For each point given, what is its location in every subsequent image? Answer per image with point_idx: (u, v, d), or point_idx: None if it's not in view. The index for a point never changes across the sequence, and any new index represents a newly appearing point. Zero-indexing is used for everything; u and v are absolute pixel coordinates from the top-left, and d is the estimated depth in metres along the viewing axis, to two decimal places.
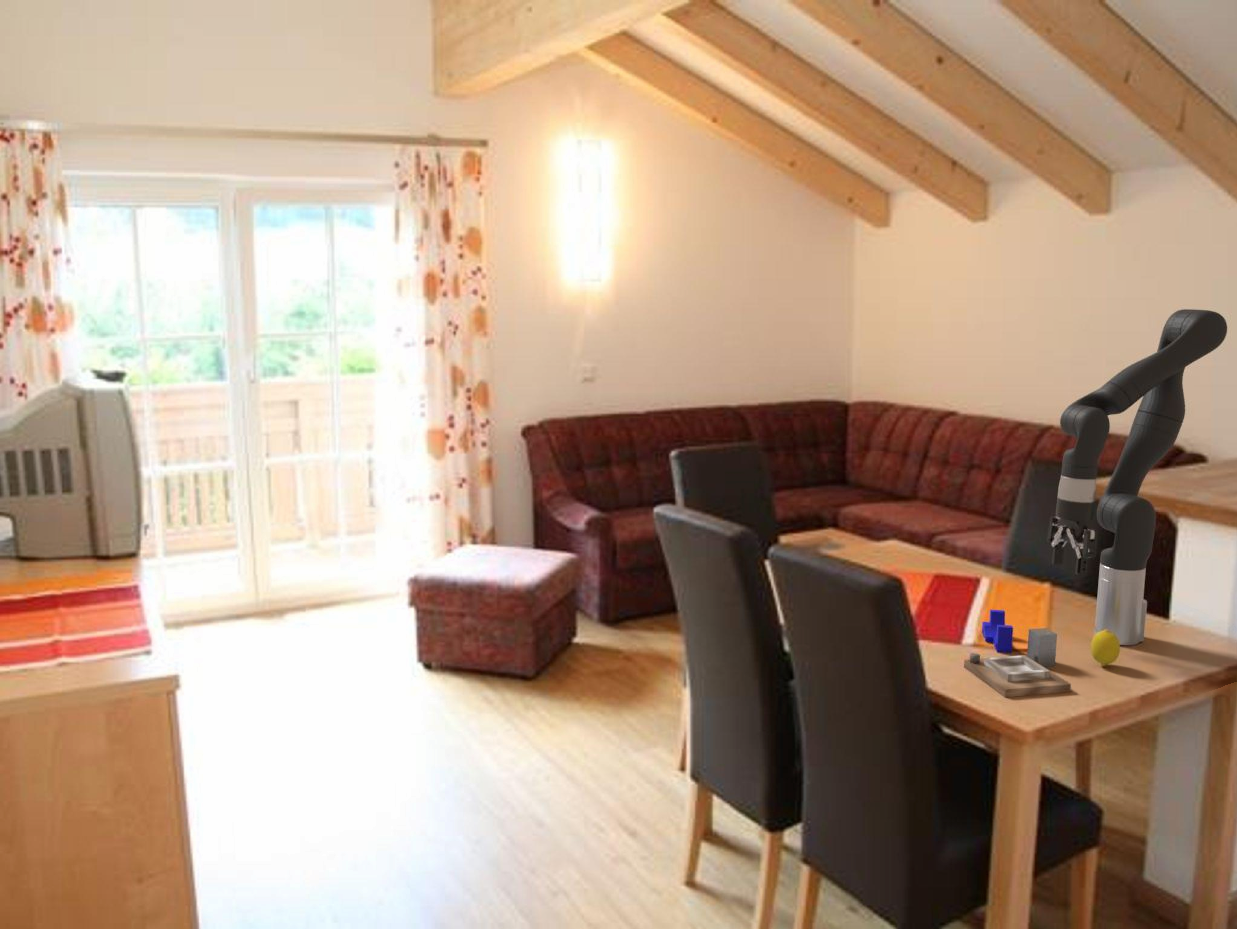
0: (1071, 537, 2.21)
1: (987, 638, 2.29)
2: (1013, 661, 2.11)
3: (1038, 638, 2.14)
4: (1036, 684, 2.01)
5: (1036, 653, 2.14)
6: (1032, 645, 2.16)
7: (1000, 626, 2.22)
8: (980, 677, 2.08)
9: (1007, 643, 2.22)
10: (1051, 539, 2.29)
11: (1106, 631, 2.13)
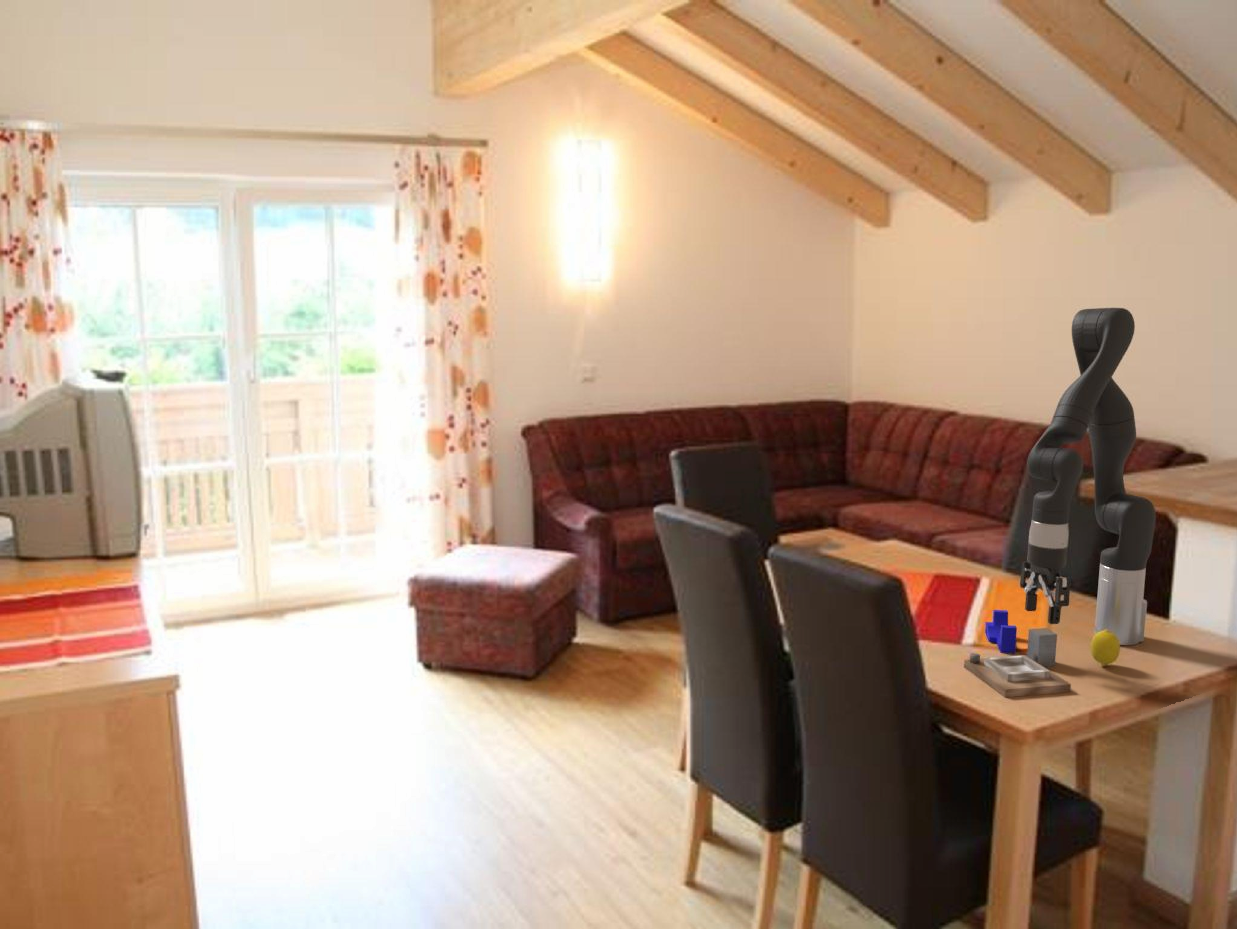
0: (1043, 584, 2.11)
1: (990, 638, 2.29)
2: (1013, 661, 2.11)
3: (1038, 638, 2.14)
4: (1036, 684, 2.01)
5: (1036, 653, 2.14)
6: (1032, 645, 2.16)
7: (1004, 626, 2.22)
8: (980, 677, 2.08)
9: (1011, 643, 2.22)
10: (1024, 585, 2.20)
11: (1106, 631, 2.13)
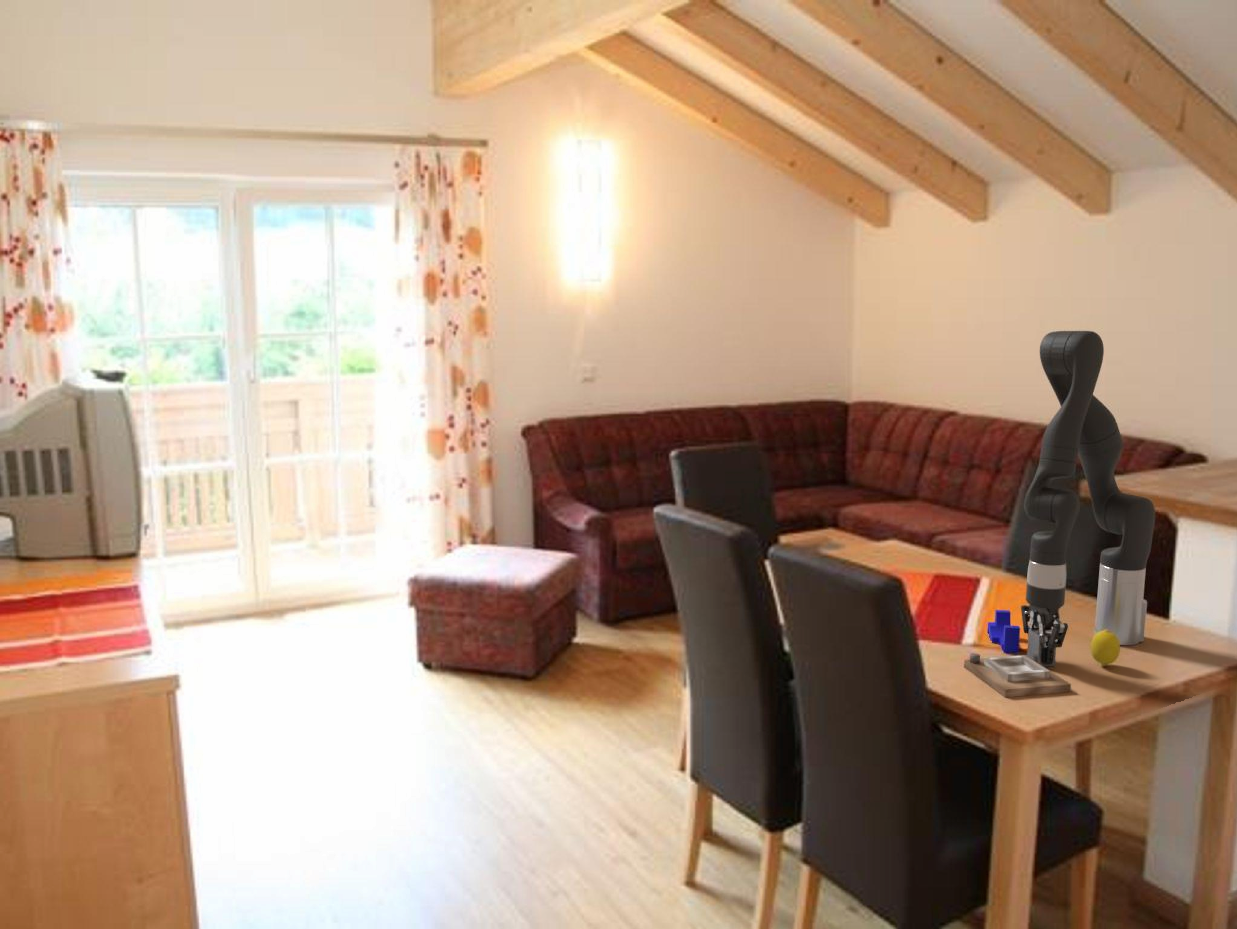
0: (1040, 625, 2.13)
1: (993, 638, 2.28)
2: (1013, 661, 2.11)
3: (1038, 638, 2.14)
4: (1036, 684, 2.01)
5: (1036, 653, 2.14)
6: (1032, 645, 2.16)
7: (1007, 627, 2.22)
8: (980, 677, 2.08)
9: (1014, 643, 2.22)
10: (1027, 629, 2.19)
11: (1106, 631, 2.13)
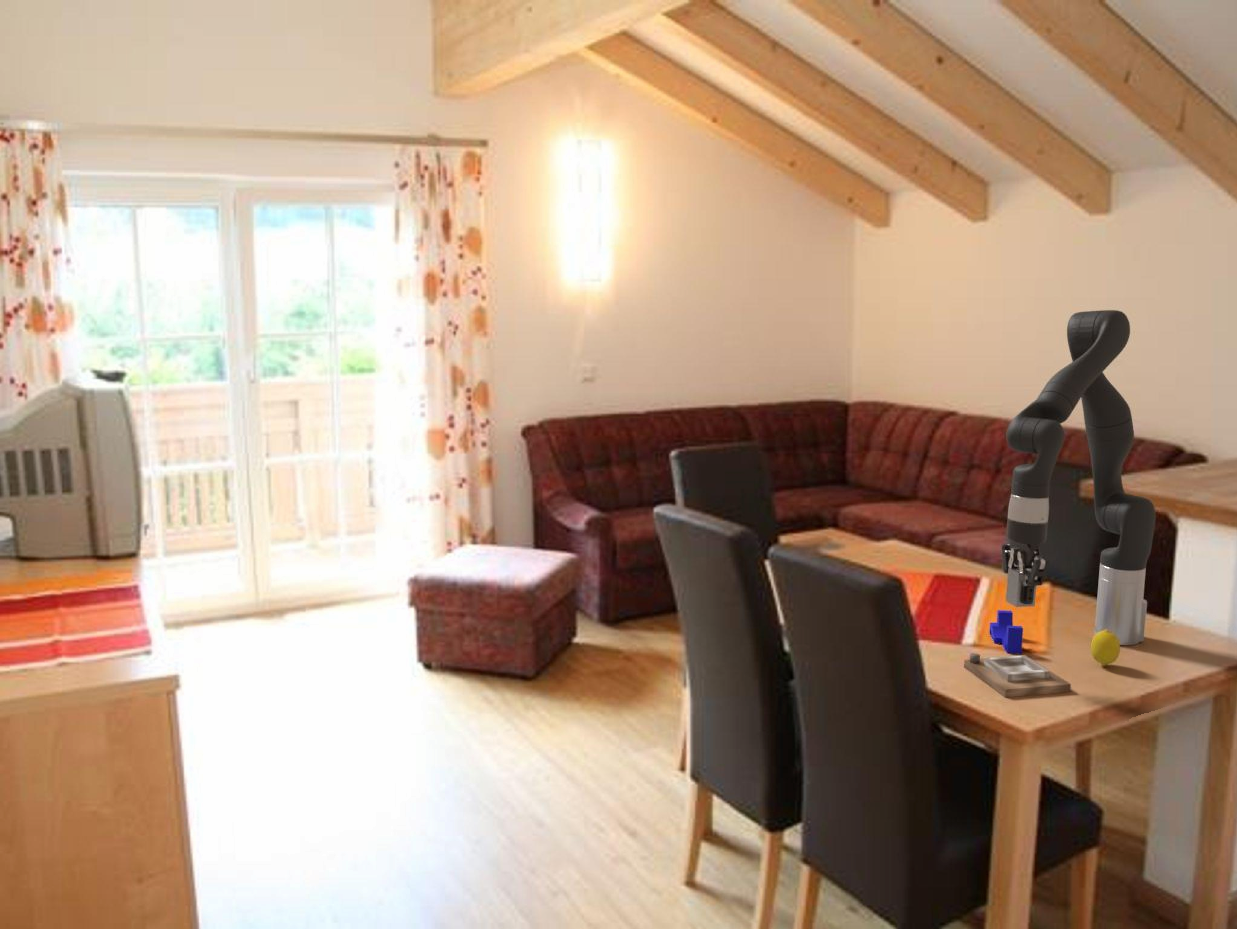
0: (1020, 562, 2.03)
1: (996, 639, 2.28)
2: (1013, 661, 2.11)
3: (1017, 576, 2.04)
4: (1036, 684, 2.01)
5: (1015, 592, 2.05)
6: (1011, 584, 2.06)
7: (1010, 627, 2.22)
8: (980, 677, 2.08)
9: (1017, 644, 2.22)
10: (1007, 569, 2.10)
11: (1106, 631, 2.13)
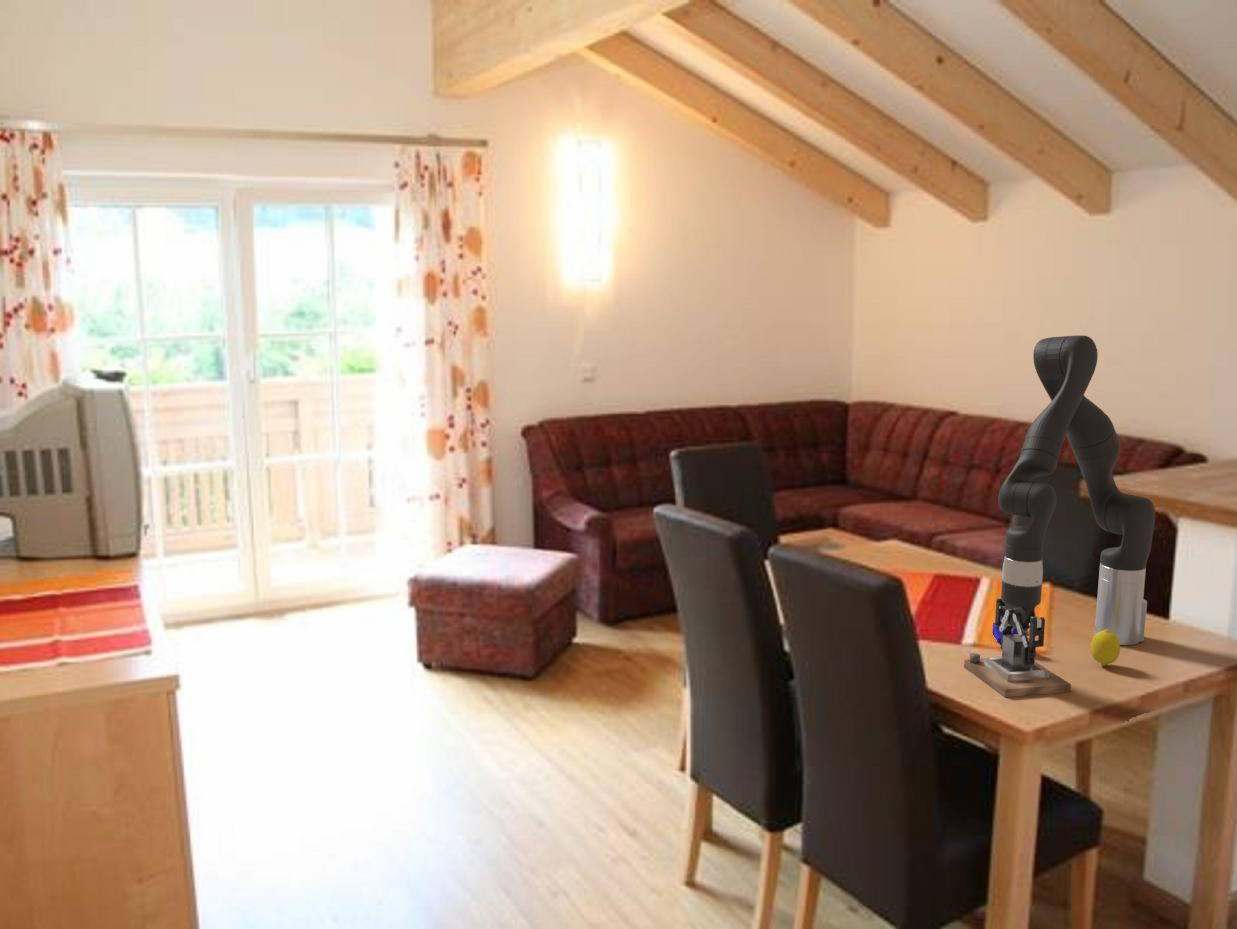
0: (1017, 623, 2.03)
1: (999, 639, 2.28)
2: None
3: (1013, 644, 2.05)
4: (1036, 684, 2.01)
5: (1011, 660, 2.06)
6: (1006, 652, 2.07)
7: None
8: (980, 677, 2.08)
9: None
10: (999, 623, 2.12)
11: (1106, 631, 2.13)
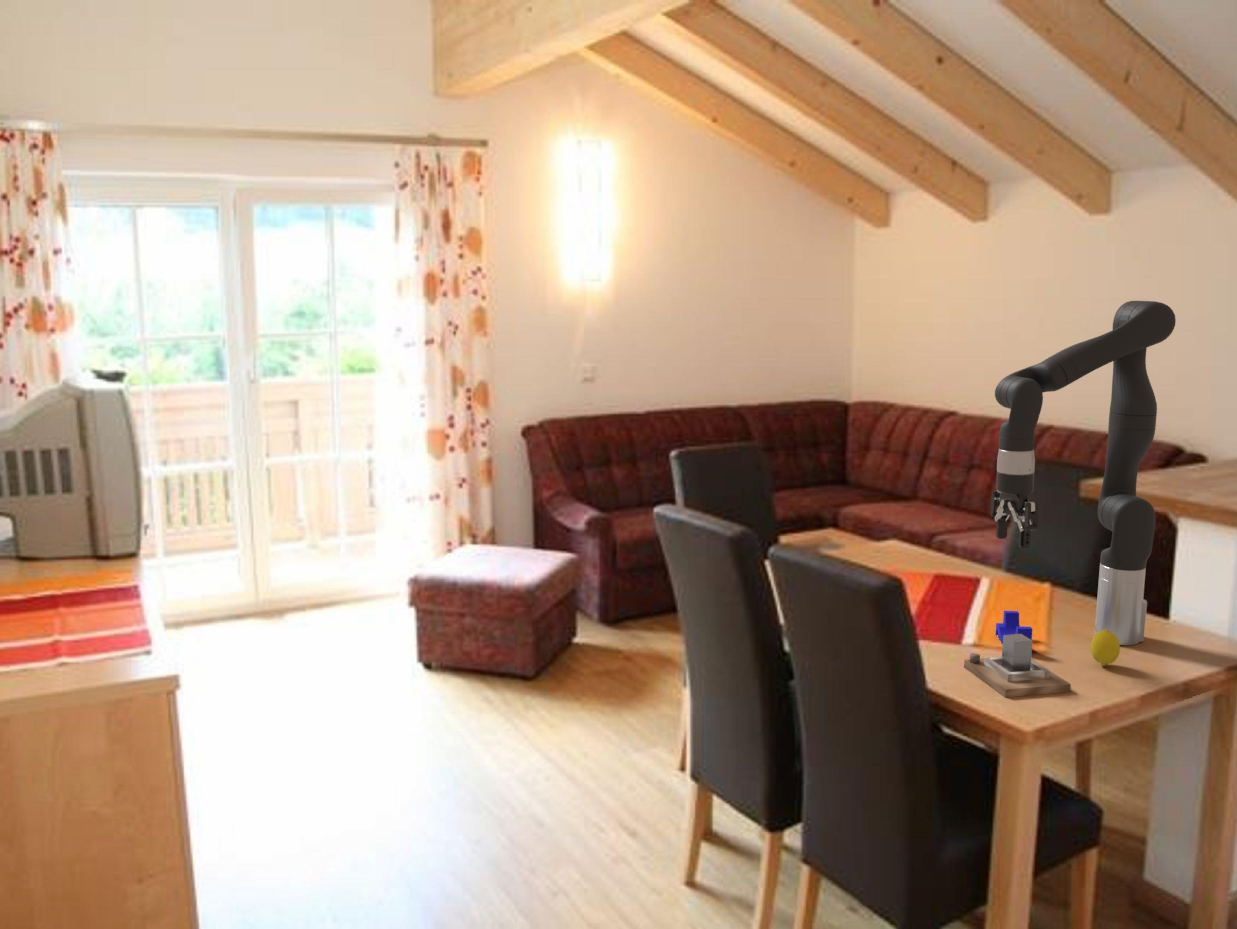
0: (1012, 510, 2.18)
1: None
2: None
3: (1013, 644, 2.05)
4: (1036, 684, 2.01)
5: (1011, 660, 2.06)
6: (1006, 652, 2.07)
7: (1019, 628, 2.21)
8: (980, 677, 2.08)
9: None
10: (994, 513, 2.27)
11: (1106, 631, 2.13)
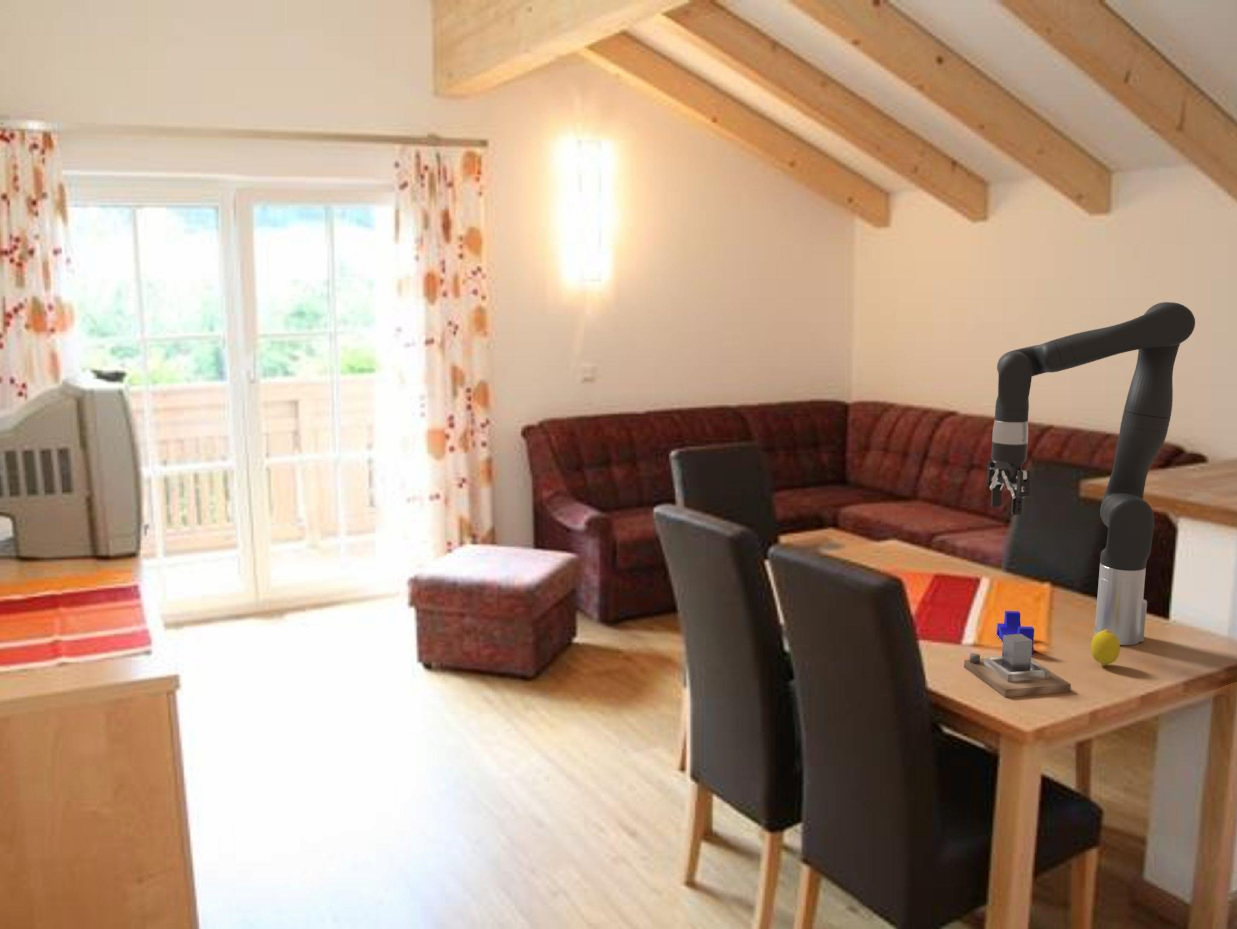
0: (1006, 479, 2.29)
1: None
2: None
3: (1013, 644, 2.05)
4: (1036, 684, 2.01)
5: (1011, 660, 2.06)
6: (1006, 652, 2.07)
7: (1021, 628, 2.21)
8: (980, 677, 2.08)
9: None
10: (989, 483, 2.38)
11: (1106, 631, 2.13)
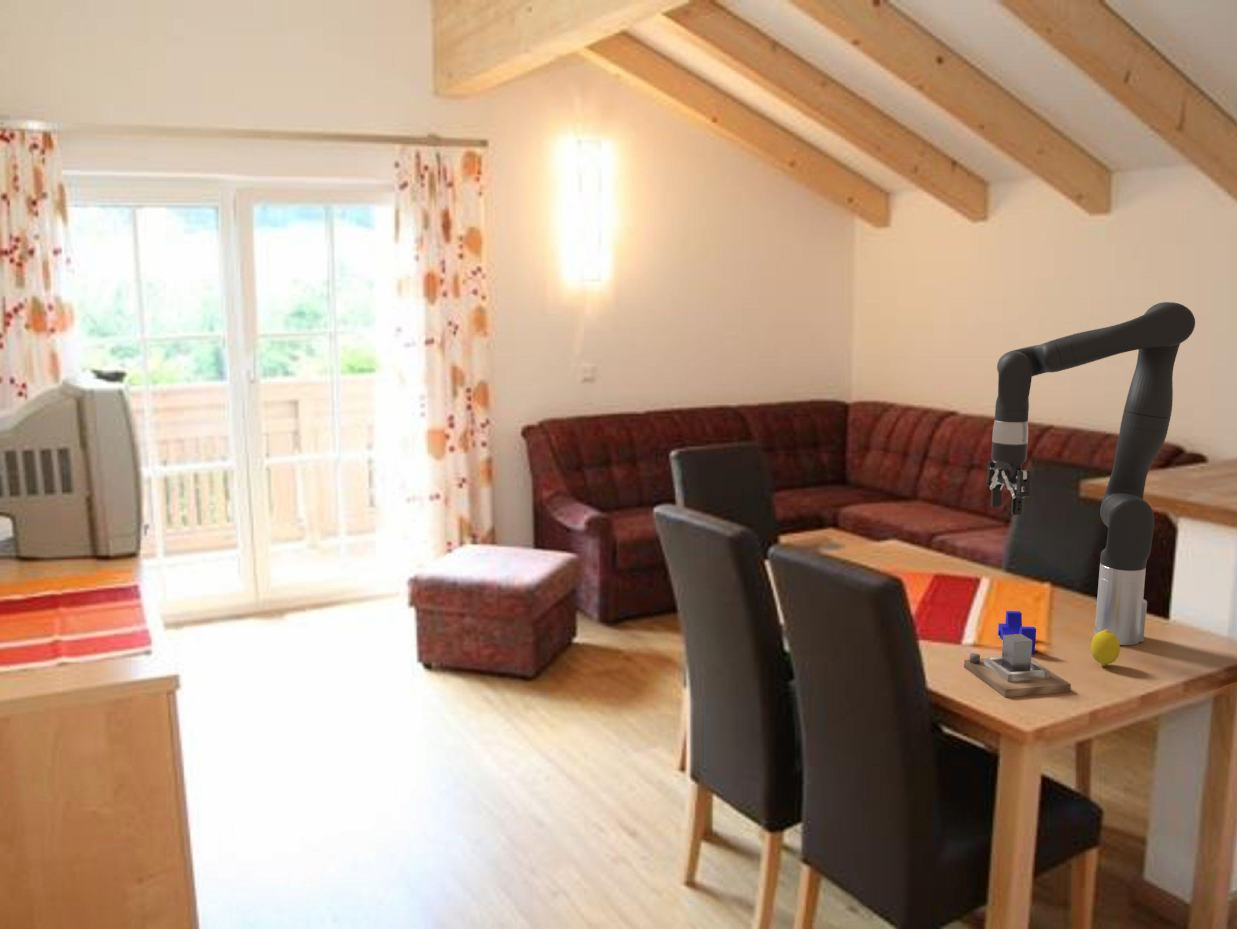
0: (1006, 479, 2.29)
1: None
2: None
3: (1013, 644, 2.05)
4: (1036, 684, 2.01)
5: (1011, 660, 2.06)
6: (1006, 652, 2.07)
7: (1023, 628, 2.21)
8: (980, 677, 2.08)
9: None
10: (989, 483, 2.38)
11: (1106, 631, 2.13)
